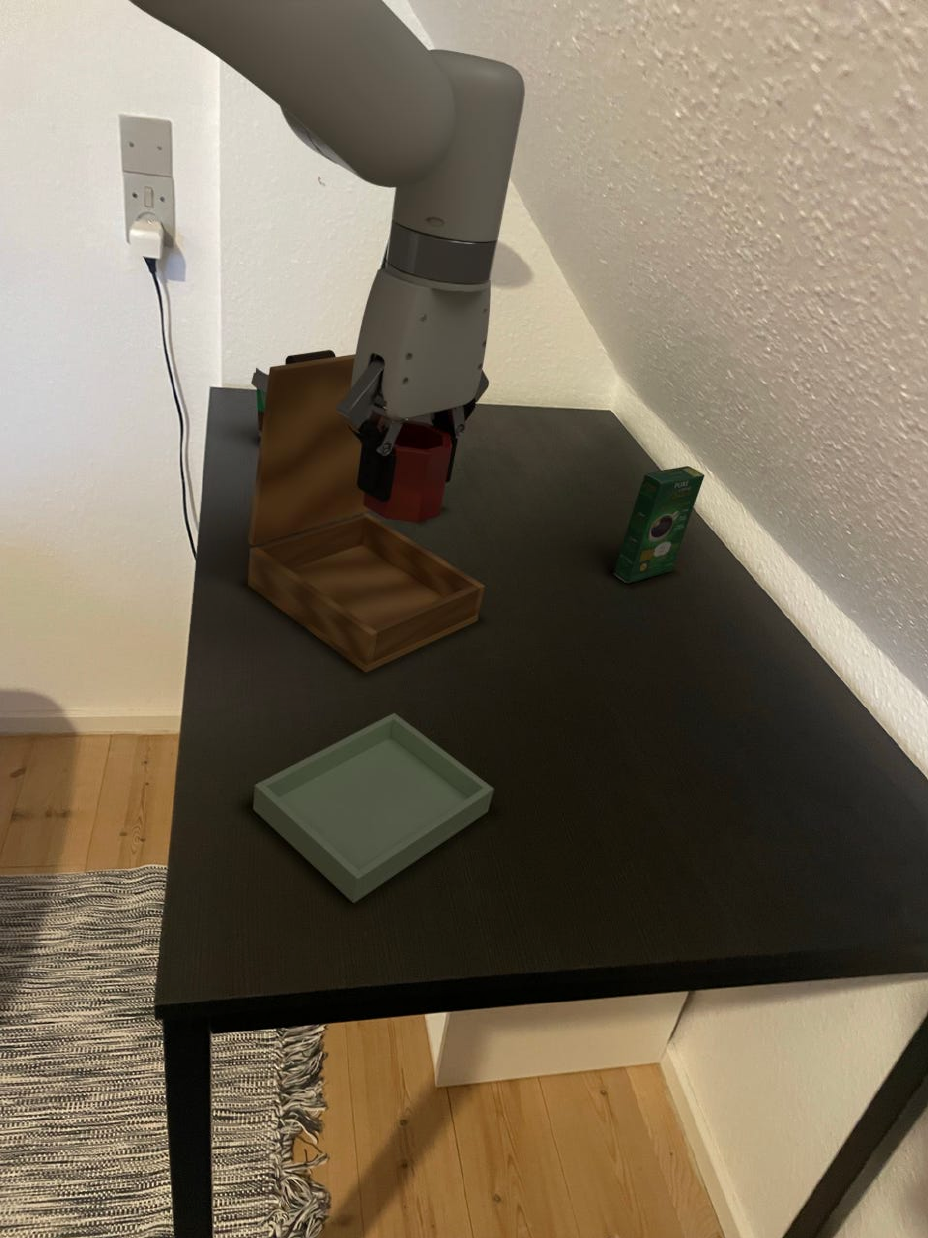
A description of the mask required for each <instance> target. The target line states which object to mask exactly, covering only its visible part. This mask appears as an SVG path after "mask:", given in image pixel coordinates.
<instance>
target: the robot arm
mask: <svg viewBox="0 0 928 1238" xmlns="http://www.w3.org/2000/svg"><path fill="white" fill-rule="evenodd" d="M128 2H130V3H131V4H133V6H135V7H136V8H138V9H139V10H141V11H142V12H144V13H145V14H146V15H149V16H150V17H152V18H153V19H155V20H156V21H158V22H160V23H162V24H163V25H165V26H167V27H169V28H171V29H173V30H175V31H176V32H178V33H179V34H181V35H183V36H185V37H187V38H188V39H190V40H192V41H193V42H195V43H196V44H198V45H199V46H201V47H202V48H203V49H206V50H207V51H209V52H210V53H211V54H213V55H214V56H216V57H217V58H218V59H219V60H221V61H222V62H223V63H225V64H227V66H228V67H231V68H232V69H233V70H235V72H237V73H238V74H240V75H241V76H242V77H243V78H245V79H246V80H247V81H248V82H250V83H251V84H252V85H254V86H255V87H256V88H257V89H259V90H260V91H261V92H262V93H263V94H265V95H266V96H267V97H268V98H270V100H272V101H273V102H275V104H277V105H278V106H279V108H280V110H281V113H282V115H283V118H284V120H285V122H286V123H287V125H288V127H289V128H290V129H291V131H292V133H293V134H294V135H295V136H296V137H297V138H298V139H299V141H301V142H302V143H303V144H304V145H306V147H308V148H309V149H311V150H312V151H314V153H317V154H318V155H320V156H322V157H323V158H325V159H327V160H329V161H330V162H331V163H334V164H335V165H338V166H340V167H341V168H343V169H345V170H347V171H348V172H350V173H351V174H352V175H354V176H356V177H358V178H359V179H360V180H363V181H364V182H366V183H369V184H371V185H375V186H376V187H383V188H388V189H389V188H390V189H391V188H392V189H394V188H395V190H394V196H393V203H392V204H393V205H392V213H391V220H390V228H389V234H388V235H389V237H388V244H387V250H386V251H387V252H386V261H385V267H384V268H378V269H377V271H376V274H375V276H374V279H373V282H372V283H371V288H370V290H369V293H368V296H367V300H366V304H365V307H364V311H363V315H362V318H361V324H360V328H359V333H358V338H357V343H356V349H355V353H354V354H355V360H354V366H353V373H352V381H351V389H350V391H349V392H348V393H347V394H346V396H345V397H344V398H343V399H342V401H341V402H340V403H339V405H338V408H337V411H338V413H339V414H340V415H341V417H342V418H343V419H344V420H345V422H346V423H347V424H348V425H349V428H350V430H351V431H352V432H353V433H354V434H355V436H356V440H357V441H358V442H359V443H361V444H362V448H361V456H360V464H359V472H358V479H357V486H358V488H359V489H360V490H362V491H364V492H365V493H367V494H369V495H370V496H372V497H374V498H375V499H377V500H379V501H381V502H386V501H388V500H389V499H390V497H391V491H392V485H393V478H394V472H395V465H396V455H395V454H394V453H392V452H391V450H392V448H393V446H394V444H395V441H396V439H397V437H398V435H399V432H400V430H401V428H402V425H403V423H404V421H405V420H408V419H409V418H413V417H418V416H422V415H427V414H430V417H431V422H432V424H433V425H432V426H434V427H436V428H438V429H440V430H442V431H444V432H445V433H447V434H449V435H450V437H451V445H452V450H451V455H450V461H449V466H448V472H447V477H446V482H445V484H447V483H449V482H450V481H451V480H452V473H453V468H454V463H455V459H456V452H457V447H458V442H459V438H458V437H461V436H462V435H463V434H464V433H465V431H466V421H467V420H468V418H470V416H471V415H472V413H473V412H474V410H475V408H476V406H477V404H476V403H478V402H479V401H480V399H481V398H482V397H483V396H484V393H485V392H486V391H487V390H488V388H489V386H490V380H489V379H488V377H487V375H486V373H485V371H484V370H483V368H484V362H485V356H486V352H487V351H486V350H487V343H488V335H489V325H490V316H491V315H490V313H491V299H492V297H491V296H492V280H491V278H492V273H493V266H494V262H495V256H496V252H497V246H498V241H499V237H500V231H501V226H502V220H503V214H504V211H505V204H506V199H507V193H508V188H509V184H510V178H511V173H512V167H513V162H514V159H515V158H514V156H515V153H516V152H515V151H516V147H517V141H518V136H519V130H520V125H521V121H522V114H523V109H524V104H525V103H524V102H525V96H526V90H525V89H526V87H525V82H524V78H523V75H522V74H521V73H520V71H519V70H518V69H517V68H516V67H514V66H513V65H510V64H508V63H505V62H503V61H500V60H496V59H492V58H488V57H483V56H479V55H475V54H470V53H469V54H468V53H464V52H459V51H454V50H448V49H437V48H436V49H429V48H427V47H426V46H425V44H424V43H423V42H422V41H421V40H420V39H419V37H418V36H417V35H415V33H414V32H413V31H412V30H411V29H410V28H409V27H408V26H407V25H406V24H405V23H404V22H403V21H402V19H400V17H399V16H398V15H397V14H396V13H395V12H394V11H393V10H392V9H391V8H390V7H389V6H388V5H387V4H386V3H385V1H384V0H128ZM386 401H387V404H386V408H385V407H384V405H385V403H386ZM368 406H369V407H368ZM367 407H368V409H367ZM366 409H367V411H366ZM381 416H383V417H385V418H387V419H388V421H387V423H386V425H385V428H384V430H383V432H382V433H381V432H380V430H379V429H378V428H377V425H378V423H379V420H380V418H381ZM430 425H431V424H430Z"/></svg>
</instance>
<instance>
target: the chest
mask: <svg viewBox="0 0 928 1238" xmlns="http://www.w3.org/2000/svg"><path fill="white" fill-rule="evenodd" d="M248 561H249V562H248V563H249V564H248V575H247V576H248V579H247V585H248V586H249V587H250V588H251V589H253V591H255V592H256V593H258V594H259V595H260V596H261V597H263V598H265V599H266V600H267V601H269V603H271V604H273V605H274V606H275V607H277V608H278V609H279V610H281V611H282V613H283V612H284V613H285V614H286V615H287V616H288V617H290V618H291V619H293V620H294V621H295V622H297V624H299V625H301V626H302V627H304V628H305V629H306V630H307V631H309V632H310V633H311V634H312V635H314V636H315V637H317V638H318V639H319V640H320V641H322V642H323V643H325V644H326V645H328V646H329V647H330V648H331V649H333V650H334V651H335V652H337V653H338V654H340V655H341V656H342V657H343V658H345V659H346V660H347V661H349V662H350V663H351V664H353V665H354V666H355V667H357V668H358V669H359V670H361V671H362V672H363V673H364V674H366V673H369V672H370V671H372V670H376V669H378V668H380V667H381V666H383V665H386V664H388V663H390V662H393V661H395V660H397V659H399V658H401V657H403V656H405V655H407V654H409V653H411V652H414V651H416V650H418V649H420V648H422V647H424V646H427V645H428V644H430V643H434V642H435V641H437V640H439V639H442V638H443V637H446V636H449V635H450V634H453V633H455V632H456V631H459V630H461V629H463V628H465V627H468V626H470V625H472V624H474V623H476V622H478V619H479V614H480V610H481V605H482V600H483V596H484V592H485V587H486V586H485V585H484V584H483V583H481V582H479V581H478V580H476V579H475V578H473V577H471V576H470V575H469V574H466V573H465V572H463V571H462V570H460V569H458V568H457V567H455V566H454V565H452V564H451V563H448V561H446V560H444V559H442V558H441V557H439V556H437V555H436V554H435V553H433V552H431V551H429V550H428V549H427V548H425V547H423V546H422V545H420V544H418V543H417V542H415V541H414V540H412V539H411V538H409V537H407V536H405V535H403V534H402V533H401V532H399V531H397V530H396V529H394V528H393V527H391V526H389V525H387V524H386V523H385V522H383V521H381V520H380V519H378V518H376V517H375V516H374V515H372V514H370V513H368V512H362V513H359V514H356V515H353V516H349V517H346V518H343V519H340V520H336V521H333V522H330V523H327V524H323V525H320V526H317V527H314V528H310V529H307V530H304V531H301V532H297V533H294V534H291V535H288V536H284V537H281V538H278V539H275V540H271V541H268V542H265V543H262V544H258V545H255V546H252V547H250V548H249V560H248Z"/></svg>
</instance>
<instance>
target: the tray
mask: <svg viewBox="0 0 928 1238" xmlns="http://www.w3.org/2000/svg"><path fill="white" fill-rule="evenodd" d="M494 790H495V789H494V787H492V786H491V785H490V784H488V783H487V782H485V780H483V779H482V778H481V777H479V776H478V775H476V774H475V773H474V772H473V771H472V770H470V769H469V768H467V767H466V766H465V765H463V764H462V763H461V762H460V761H458V760H457V759H456V758H455V757H453V756H452V755H450V754H449V753H448V752H447V751H445V750H444V749H443V748H441V747H440V746H438V745H437V744H436V743H435V742H433V741H432V740H431V739H429V738H428V737H426V735H424V734H423V733H422V732H420V731H419V730H418V729H416V728H415V727H414V726H412V725H411V724H410V723H408V722H407V721H405V720H404V719H403V718H402V717H401V716H399V715H398V714H397V713H395V712H393V713H391V714H389V715H386V716H385V717H383V718H382V719H380V720H377V721H375V722H373V723H372V724H369V725H368V726H366V727H364V728H362V729H360V730H358V731H356V732H354V733H352V734H350V735H348V736H347V737H345V738H343V739H340V740H338V741H337V742H334V743H333V744H331V745H329V746H327V747H325V748H324V749H321V750H319V751H317V752H316V753H313V754H312V755H310V756H307V757H306V758H304V759H302V760H300V761H298V762H296V763H294V764H292V765H290V766H289V767H287V768H285V769H283V770H281V771H279V772H277V773H275V774H273V775H271V776H270V777H268V778H265V779H264V780H261V781H259V782H258V783H256V784H254V791H253V793H254V794H253V805H252V806H253V807H252V810H253V811H254V812H255V813H256V814H258V816H260V818H262V820H264V821H265V822H266V823H267V824H268V825H269V826H270V827H271V828H273V829H274V830H275V832H277V833H278V834H279V835H280V837H282V838H283V839H284V840H285V841H286V842H287V843H288V844H289V845H291V846H292V848H294V850H296V851H297V852H298V853H299V854H300V855H301V856H302V857H303V858H305V859H306V861H308V862H309V864H311V865H312V866H313V867H314V868H315V869H316V870H317V871H318V872H319V873H320V874H321V875H323V876H324V877H325V878H326V879H327V880H328V881H329V882H330V883H331V884H332V885H334V887H335V888H336V889H338V891H339V892H341V894H343V895H344V896H345V897H346V898H347V899H348V900H349V901H350V902H351V903H352V904H355V903H357V902H358V901H359V900H361V899H362V898H364V897H365V896H367V895H368V894H370V893H371V892H372V891H374V890H376V889H377V888H378V887H380V886H381V885H383V884H384V883H386V882H387V881H388V880H390V879H392V878H393V877H394V876H396V875H398V874H399V873H400V872H401V871H403V870H405V869H406V868H407V867H409V866H411V865H412V864H414V863H415V862H416V861H418V860H419V859H421V858H422V857H424V856H426V854H428V853H430V852H431V851H432V850H434V849H436V848H437V847H439V846H440V845H441V844H443V843H445V842H446V841H447V840H449V839H450V838H452V837H453V836H454V835H456V834H457V833H459V832H460V831H462V830H464V829H465V828H466V827H468V826H469V825H471V824H472V823H473V822H475V821H476V820H479V818H482V816H484V815H485V814H487V813H488V812H489V809H490V805H491V802H492V797H493V794H494Z"/></svg>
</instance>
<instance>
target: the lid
mask: <svg viewBox="0 0 928 1238" xmlns="http://www.w3.org/2000/svg"><path fill="white" fill-rule="evenodd" d="M355 354H356V353H352V354H347V355H341V356H337V355H336V353H335V352H334V351H333V350H331V349H325V350H318V351H317V350H316V351H312V352H304V353H297V354H290V355H289V354H288V355H287V356H286V357H285V362H284V364H281V365H280V364H279V365H275V366H273V365H272V366H270V367H269V371H268V375H269V378H268V386H267V394H266V402H265V410H264V418H263V426H262V434H261V442H259V450H258V458H257V466H256V473H255V474H256V475H255V483H254V491H253V498H252V507H251V516H250V523H249V531H248V538H247V542H248V543H249V544H250V545H251V546H252V547H255V546H258V545H262V544H265V543H268V542H271V541H275V540H278V539H281V538H285V537H288V536H291V535H294V534H298V533H301V532H304V531H307V530H311V529H314V528H317V527H320V526H324V525H327V524H330V523H333V522H337V521H340V520H343V519H346V518H350V517H353V516H356V515H360V514H363V513H366V512H368V511H371V510H370V509H369V508H367V507H365V506H364V505H363V500H364V491H362V490H360V489H359V488H358V486H357V479H358V472H359V464H360V456H361V448H362V444H361V443H359V442H358V441H357V440H356V436H355V434H354V433H353V432H352V431H351V430H350V428H349V425H348V424H347V423H346V422H345V420H344V419H343V418H342V417H341V415H340V414H339V413H338V411H337V408H338V405H339V403H340V402H341V401H342V399H343V398H344V397H345V396H346V394H347V393H348V392H349V391H350V389H351V381H352V373H353V366H354V360H355ZM386 404H387V401H386V403H385V405H384V407H385V408H386ZM368 407H369V406H368ZM368 407H367V409H368ZM367 409H366V411H367ZM387 420H388V419H387V418H385V417H383V416H381V418H380V420H379V422H382V421H387Z"/></svg>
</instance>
